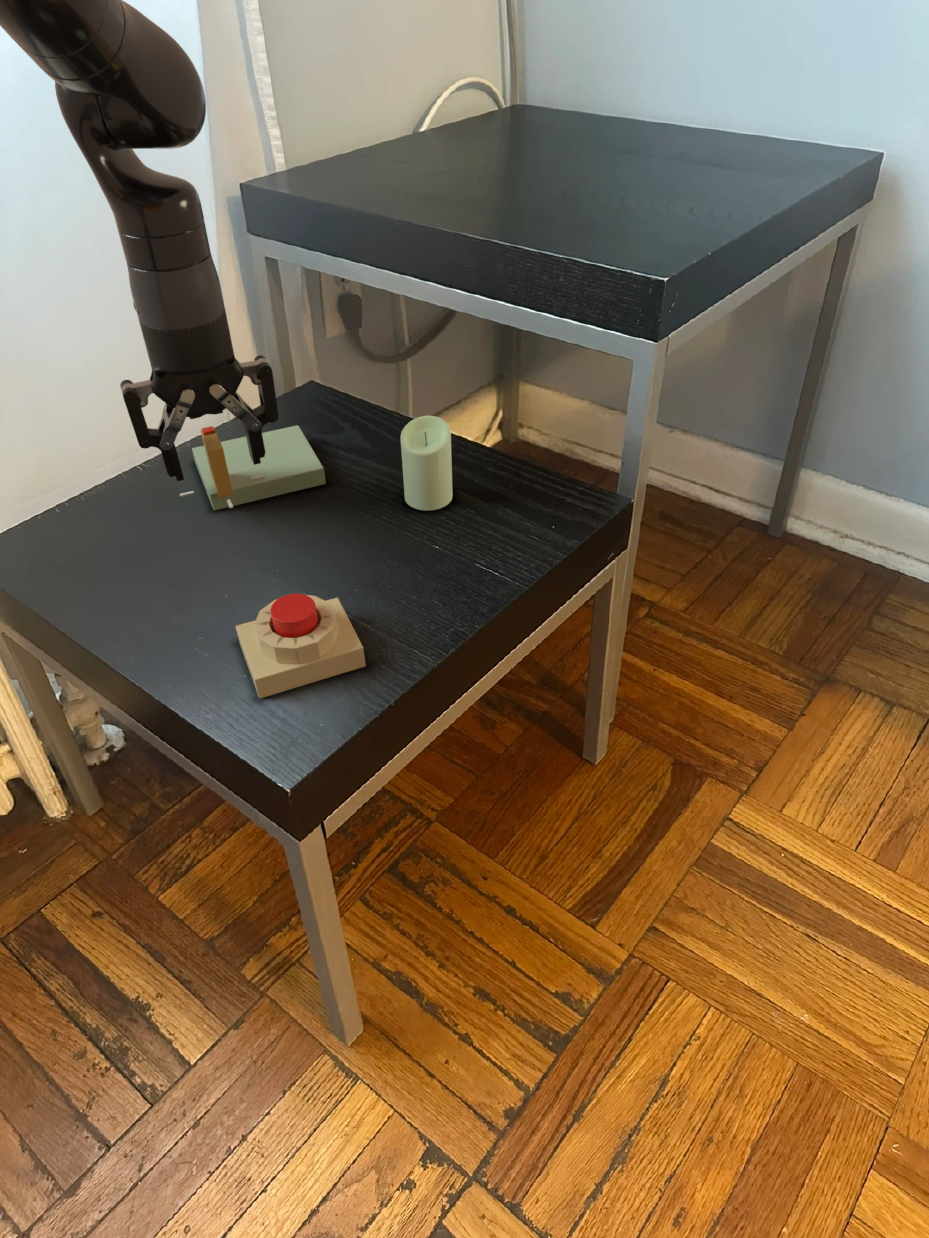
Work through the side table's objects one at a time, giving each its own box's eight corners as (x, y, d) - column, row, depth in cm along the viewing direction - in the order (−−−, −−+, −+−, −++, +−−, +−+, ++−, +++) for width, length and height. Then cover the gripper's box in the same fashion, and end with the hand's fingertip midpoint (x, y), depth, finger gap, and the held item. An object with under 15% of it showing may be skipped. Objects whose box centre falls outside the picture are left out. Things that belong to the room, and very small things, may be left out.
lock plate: (192, 535, 87) (187, 517, 86) (169, 469, 97) (165, 452, 95) (335, 500, 92) (332, 482, 90) (300, 440, 101) (298, 423, 99)
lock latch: (233, 495, 89) (222, 445, 85) (219, 498, 89) (207, 448, 85) (224, 473, 92) (213, 424, 88) (211, 476, 92) (199, 427, 88)
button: (280, 643, 70) (276, 627, 69) (269, 616, 73) (265, 600, 72) (323, 631, 71) (320, 614, 70) (311, 604, 74) (308, 588, 73)
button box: (259, 699, 71) (250, 663, 68) (240, 644, 75) (231, 609, 73) (365, 666, 73) (361, 631, 71) (340, 615, 78) (335, 580, 75)
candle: (444, 514, 89) (442, 444, 84) (398, 507, 90) (392, 437, 85) (458, 488, 93) (456, 418, 88) (413, 481, 94) (409, 412, 89)
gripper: (101, 339, 73) (151, 504, 84) (270, 310, 77) (297, 471, 88) (92, 306, 78) (140, 466, 89) (251, 281, 82) (279, 436, 93)
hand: (218, 468), depth 89 cm, fingers open, 7 cm apart
